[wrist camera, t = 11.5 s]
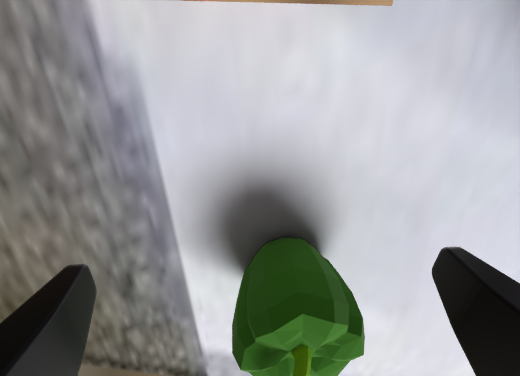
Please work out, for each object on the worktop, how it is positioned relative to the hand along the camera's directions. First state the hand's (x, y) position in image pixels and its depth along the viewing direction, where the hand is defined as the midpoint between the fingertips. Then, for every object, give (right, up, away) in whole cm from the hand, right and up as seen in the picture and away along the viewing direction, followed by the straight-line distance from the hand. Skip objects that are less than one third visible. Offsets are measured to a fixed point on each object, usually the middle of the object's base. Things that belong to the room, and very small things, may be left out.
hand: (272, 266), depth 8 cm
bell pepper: (+1, -4, +18) cm, 18 cm away
